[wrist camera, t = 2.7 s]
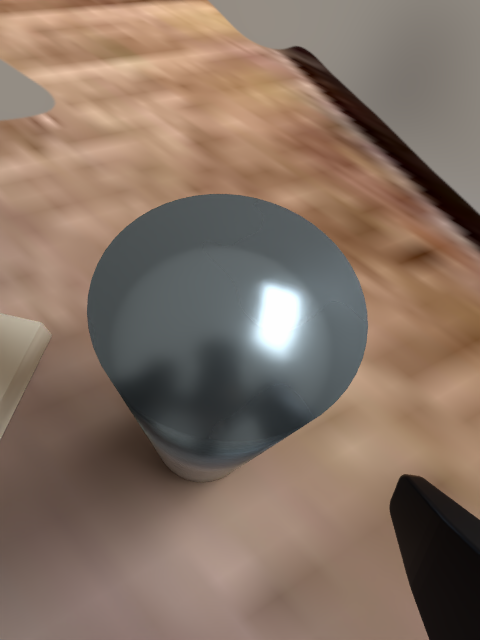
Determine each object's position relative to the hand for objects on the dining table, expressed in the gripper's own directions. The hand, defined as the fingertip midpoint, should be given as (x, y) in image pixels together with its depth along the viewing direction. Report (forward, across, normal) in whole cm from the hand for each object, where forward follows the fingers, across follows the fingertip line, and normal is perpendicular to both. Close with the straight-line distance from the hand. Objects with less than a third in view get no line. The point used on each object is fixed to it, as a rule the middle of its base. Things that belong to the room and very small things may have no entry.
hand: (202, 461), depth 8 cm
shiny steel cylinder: (+9, 0, +5) cm, 10 cm away
